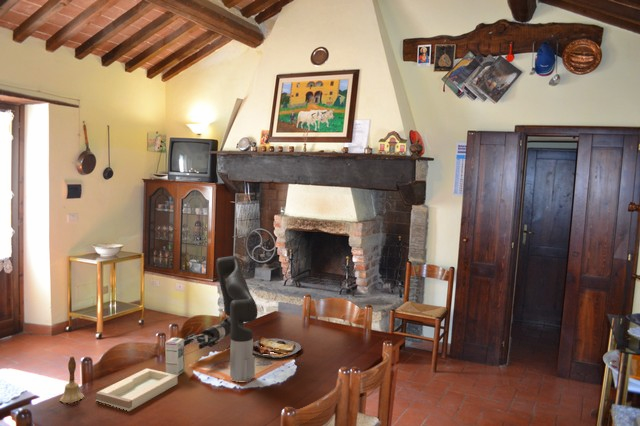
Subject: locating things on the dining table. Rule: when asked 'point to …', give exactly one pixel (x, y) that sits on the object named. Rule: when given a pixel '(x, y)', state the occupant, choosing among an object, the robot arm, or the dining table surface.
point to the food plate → (275, 347)
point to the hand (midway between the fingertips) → (191, 345)
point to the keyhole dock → (136, 389)
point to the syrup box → (174, 356)
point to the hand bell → (71, 385)
